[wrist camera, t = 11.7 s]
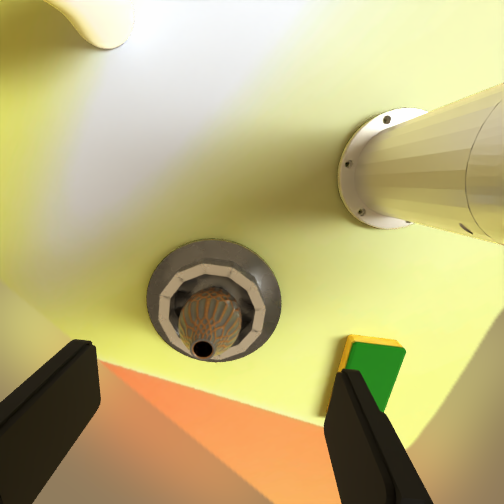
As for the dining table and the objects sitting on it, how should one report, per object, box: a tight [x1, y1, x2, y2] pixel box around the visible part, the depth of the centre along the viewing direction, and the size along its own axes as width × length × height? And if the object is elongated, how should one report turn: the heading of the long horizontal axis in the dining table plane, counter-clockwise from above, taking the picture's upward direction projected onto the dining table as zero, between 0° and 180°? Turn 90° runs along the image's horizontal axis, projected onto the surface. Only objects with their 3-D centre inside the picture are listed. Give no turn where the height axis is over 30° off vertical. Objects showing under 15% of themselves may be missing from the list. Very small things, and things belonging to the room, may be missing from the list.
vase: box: [178, 288, 242, 360], centre depth 27 cm, size 7×7×9 cm
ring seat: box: [147, 239, 281, 362], centre depth 31 cm, size 17×17×3 cm
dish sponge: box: [326, 334, 406, 413], centre depth 35 cm, size 7×14×2 cm, turn 172°
